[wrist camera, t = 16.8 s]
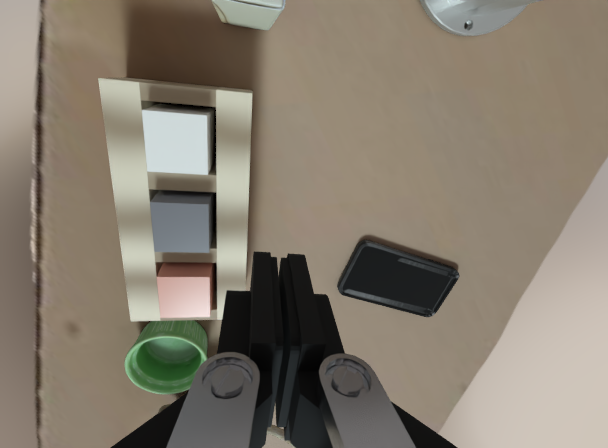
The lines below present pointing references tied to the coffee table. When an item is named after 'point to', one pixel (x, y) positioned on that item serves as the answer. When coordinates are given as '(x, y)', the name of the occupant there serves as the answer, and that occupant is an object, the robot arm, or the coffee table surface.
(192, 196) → the grey rectangular block
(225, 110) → the wooden compartment tray
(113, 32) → the coffee table surface
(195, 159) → the white key
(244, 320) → the robot arm
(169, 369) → the ramekin
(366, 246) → the phone
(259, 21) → the skincare box
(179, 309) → the brick key
